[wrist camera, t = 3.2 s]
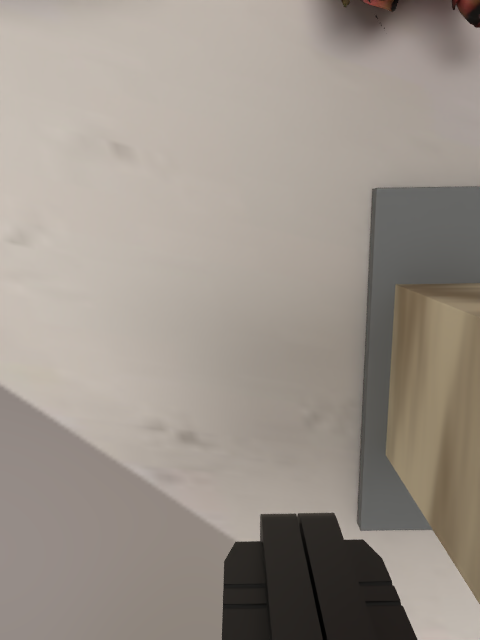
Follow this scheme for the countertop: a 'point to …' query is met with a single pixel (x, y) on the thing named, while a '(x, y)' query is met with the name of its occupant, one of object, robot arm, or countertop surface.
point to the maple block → (439, 413)
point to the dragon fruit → (473, 3)
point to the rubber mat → (384, 273)
